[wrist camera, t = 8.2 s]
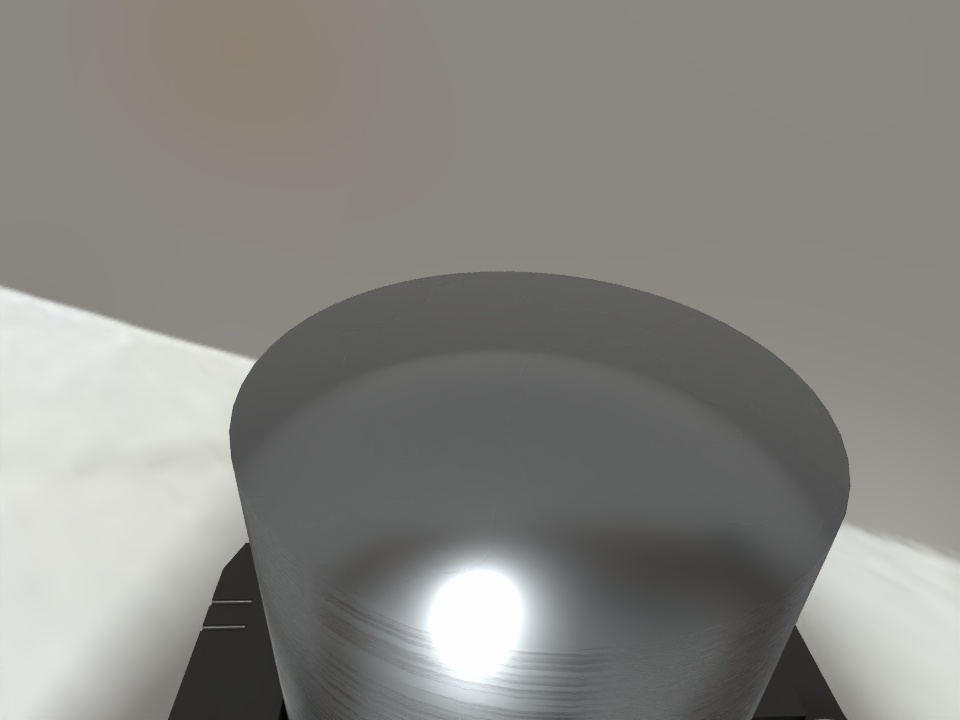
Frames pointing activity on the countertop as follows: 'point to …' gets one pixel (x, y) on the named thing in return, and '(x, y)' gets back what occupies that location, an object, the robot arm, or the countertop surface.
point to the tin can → (530, 504)
